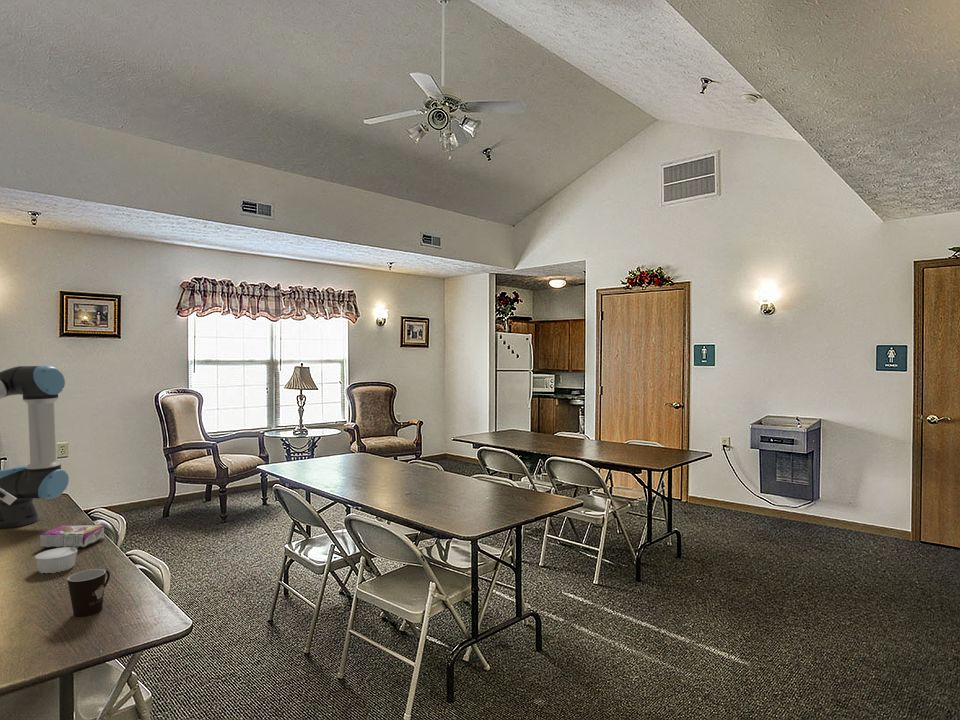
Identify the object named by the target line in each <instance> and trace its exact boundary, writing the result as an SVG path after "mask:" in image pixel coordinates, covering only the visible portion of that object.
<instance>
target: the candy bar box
mask: <svg viewBox="0 0 960 720" xmlns="http://www.w3.org/2000/svg"><path fill="white" fill-rule="evenodd" d="M104 538H105V525H104V524H103V525H100V524H99V525H95V524H94V525H93V524H92V525H91V524H89V525H85V524H84V525H60V526H58V527H55V528H53V529H50V530H48V531H46V532H44V533H40V534H39V548H63V547H81V548H85V547H86V546H89V545H92V544H94V543H96V542H99V541H100V540H102V539H104Z"/></svg>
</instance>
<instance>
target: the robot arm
mask: <svg viewBox="0 0 960 720" xmlns="http://www.w3.org/2000/svg"><path fill="white" fill-rule="evenodd" d="M65 385H66V380H65V375H64V374H63V373H62V371H61V370H59V369H58V368H57V367H55V366H51V365H43V364H42V365H28V366H26V365H23V366H21V365H20V366H13V367H9V368H7V369H5V370H2V371H0V400H1V399H4V398H6V397H8V396H17V395H20V396H21V395H22V401H23V402H25V403H26V404H27V416H28V417H27V418H28V419H27V420H28V441H29V443H28V444H29V464H26V465H25V464H24V465H20V466H19V465H18V466H14V467H8V468H3V469H0V529H8V528H9V529H10V528H16V527H18V528H19V527H23V526H26V525H27V526H28V525H30V524H34V523H35V522H38V521H39V520H40V514H39V511H38V510H37V507H36V504H35V502H34V499H37V500H38V499H39V500H40V499H41V500H47V499H55V498H58V497H59V496H61V495H62V494H63V493H64V491H65V490H67V487H68V485H69V479H70V478H69V474H68V472H66V471H65V470H64V469H62V463H61V462H60V461H58V460H57V447H56V443H57V442H56V423H55V422H56V421H55V420H56V419H55V418H56V417H55V402H56V401H57V400H58V399H59V394H60V393H61V392H62V391H63V389H64V388H65Z"/></svg>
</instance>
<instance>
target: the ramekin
mask: <svg viewBox="0 0 960 720" xmlns="http://www.w3.org/2000/svg"><path fill="white" fill-rule="evenodd" d="M77 555H78V548H72V547H55V548H52V549H47V550H45V551H44V550H43V551H42V552H39V553H37V554H35V555H34V560H35V562H36V563H35V564H36V567H37V568H36V569H37V571H38V572H39V573H40V574H43V573H46V575H48V574H47V573H52V574H56V572H58V573H61V571H62V572H65V571H68V570H70V569H72V568H73V567H74V566H75V564H76V559H77Z"/></svg>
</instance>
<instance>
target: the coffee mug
mask: <svg viewBox="0 0 960 720" xmlns="http://www.w3.org/2000/svg"><path fill="white" fill-rule="evenodd" d="M106 576H107V577H106ZM66 579H67V585H68V590H69V596H70V601H71V607H72V611H73V613H72V614H73V616H74V617H75V618H87V617H90V616H91V617H92V616H94V615H96V614H99V613H101V612H102V610H103V604H104V603H103V602H104V594H105V588H106V587H107V585H108V583H109V581H110V579H111V573H110V571H109V570H106V569H102V568H93V569H92V568H91V569H86V570H85V569H84V570H81V571H78V572H75V573H73V574H71V575H69V576H68V577H67V578H66Z"/></svg>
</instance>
